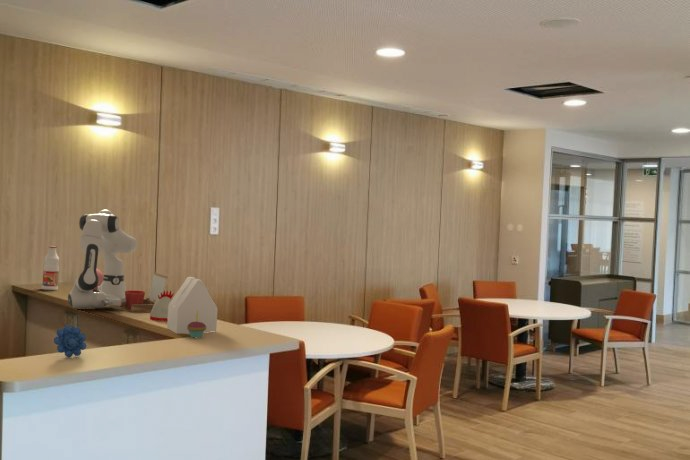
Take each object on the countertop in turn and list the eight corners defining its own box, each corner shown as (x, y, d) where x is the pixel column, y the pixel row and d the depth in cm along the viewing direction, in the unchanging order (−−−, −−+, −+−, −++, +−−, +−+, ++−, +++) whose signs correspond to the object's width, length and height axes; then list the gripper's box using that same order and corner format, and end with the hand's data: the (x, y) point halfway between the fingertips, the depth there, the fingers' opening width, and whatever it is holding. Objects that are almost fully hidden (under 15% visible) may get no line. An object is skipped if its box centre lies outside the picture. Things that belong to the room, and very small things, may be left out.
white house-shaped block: (176, 333, 314) (179, 279, 314) (167, 328, 327) (170, 276, 327) (216, 332, 324) (219, 280, 323) (205, 327, 337) (208, 277, 337)
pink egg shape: (113, 292, 446) (114, 269, 446) (81, 292, 435) (82, 268, 435) (106, 289, 459) (108, 266, 459) (75, 289, 448) (77, 266, 448)
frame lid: (154, 272, 396) (155, 272, 396) (148, 297, 395) (149, 298, 395) (165, 276, 378) (167, 276, 379) (159, 302, 377) (161, 303, 378)
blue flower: (55, 360, 244) (57, 327, 244) (51, 356, 250) (53, 324, 249) (88, 358, 251) (90, 326, 251) (83, 354, 256) (85, 323, 256)
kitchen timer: (180, 321, 350) (182, 292, 350) (154, 321, 343) (156, 292, 343) (173, 316, 362) (174, 288, 362) (147, 317, 355) (148, 288, 355)
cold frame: (120, 306, 387) (120, 298, 387) (148, 305, 396) (149, 298, 396) (131, 312, 368) (131, 303, 368) (160, 311, 377) (161, 303, 377)
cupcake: (185, 335, 310) (186, 309, 310) (203, 335, 314) (205, 309, 314) (188, 339, 302) (190, 312, 302) (207, 338, 306) (209, 312, 306)
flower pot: (131, 310, 373) (132, 293, 373) (120, 307, 380) (121, 290, 380) (147, 309, 381) (148, 292, 381) (136, 307, 388) (137, 290, 388)
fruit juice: (60, 289, 440) (63, 246, 440) (46, 290, 433) (49, 246, 433) (53, 288, 446) (56, 245, 446) (39, 288, 439) (42, 245, 439)
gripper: (104, 296, 362) (131, 296, 369) (96, 292, 379) (121, 292, 387) (104, 308, 362) (130, 308, 370) (95, 303, 379) (120, 303, 387)
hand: (125, 300), depth 378 cm, fingers closed, pressing on flower pot
